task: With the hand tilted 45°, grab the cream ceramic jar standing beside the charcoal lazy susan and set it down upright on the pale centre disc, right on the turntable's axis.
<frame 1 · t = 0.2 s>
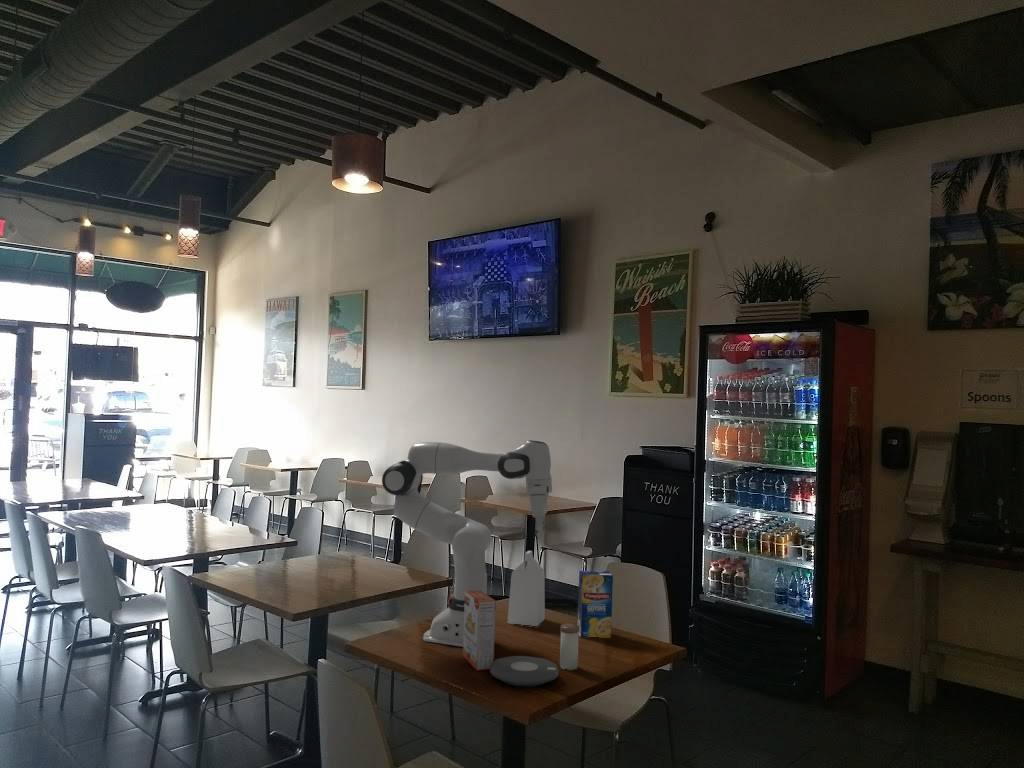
hand: (540, 528, 257), 39 cm above the table, tool pointing down, fingers open, 8 cm apart
lazy susan base: (523, 678, 222), on the table
cracker box: (477, 663, 235), on the table
jar: (568, 667, 234), on the table
milk: (526, 621, 286), on the table
blue cardboard box: (593, 635, 271), on the table
lazy susan: (524, 669, 223), point 3 cm above the table, hinge at 0.0°
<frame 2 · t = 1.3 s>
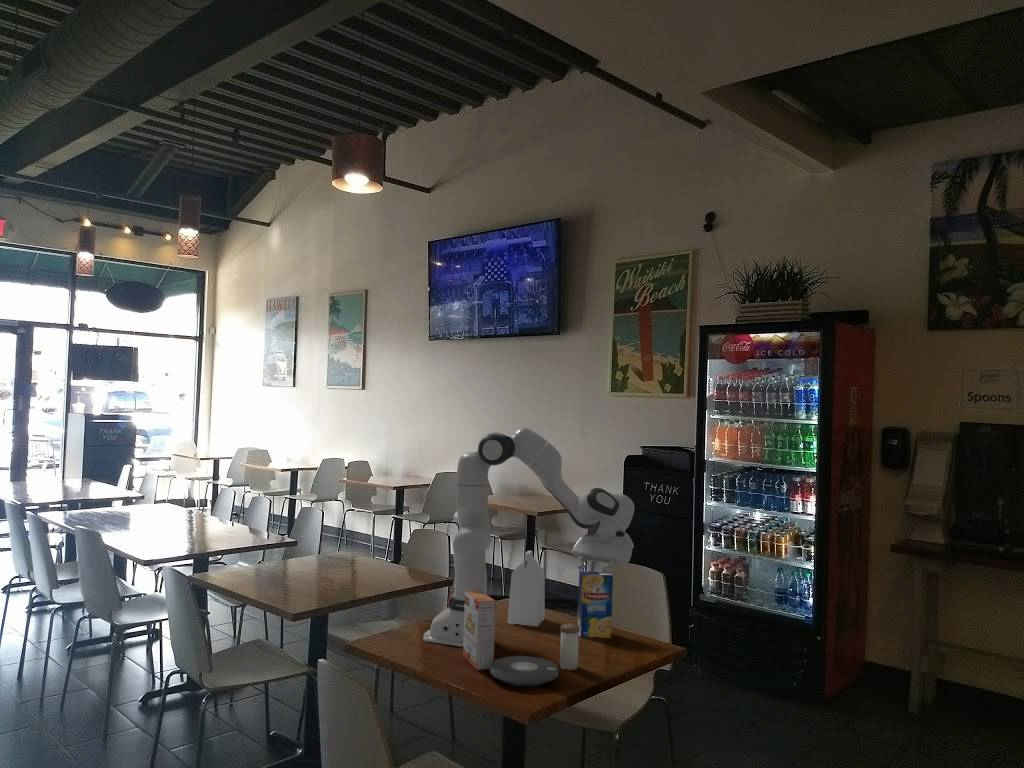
hand: (592, 570, 245), 28 cm above the table, tool tilted 45°, fingers open, 8 cm apart
nothing on the table moved.
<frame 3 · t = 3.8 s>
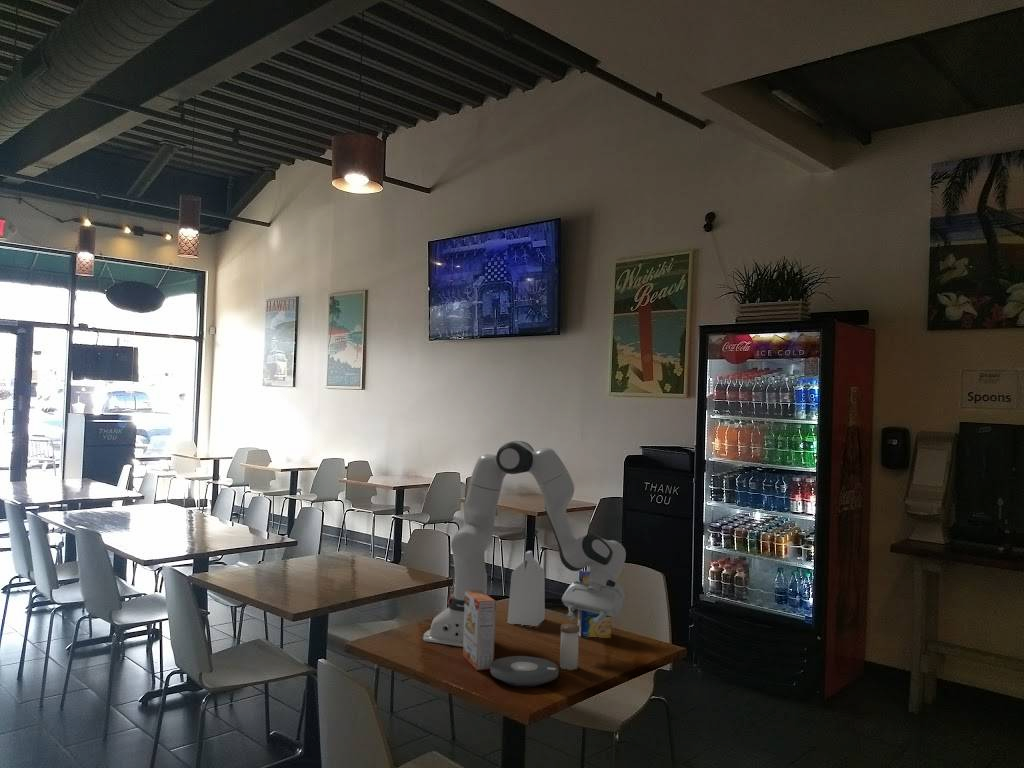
hand: (582, 621, 240), 13 cm above the table, tool tilted 45°, fingers open, 8 cm apart
nothing on the table moved.
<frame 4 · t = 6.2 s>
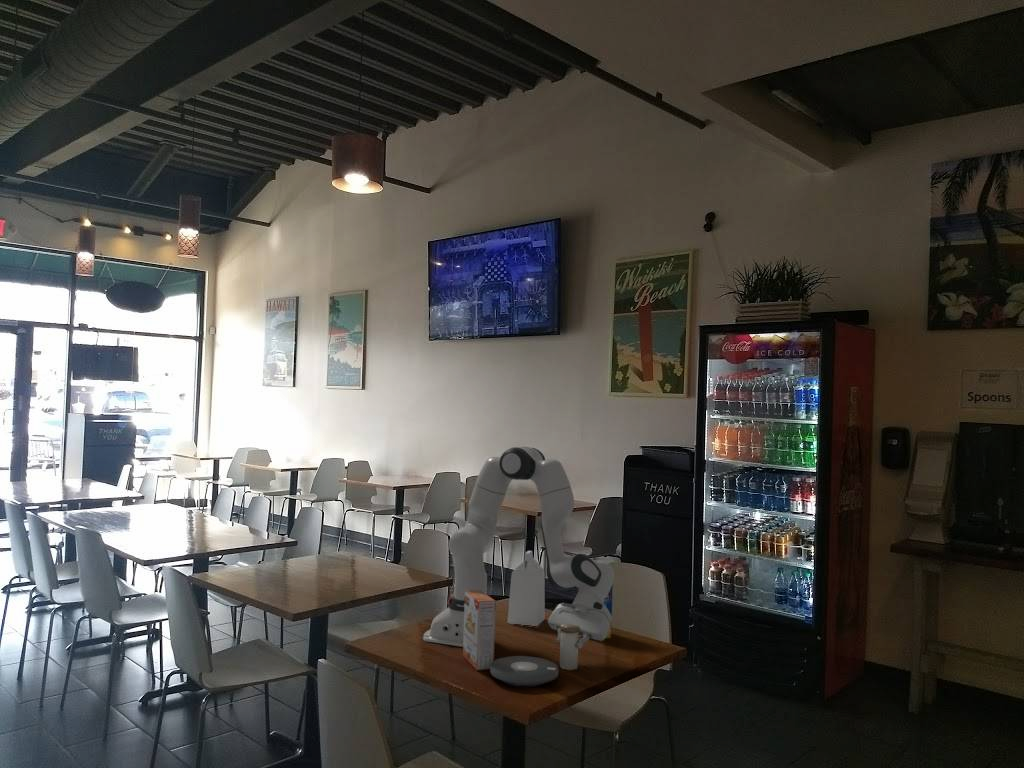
hand: (568, 644, 234), 7 cm above the table, tool tilted 45°, fingers closed on jar, 5 cm apart
jar: (568, 667, 234), on the table, touching gripper
everything else where it was.
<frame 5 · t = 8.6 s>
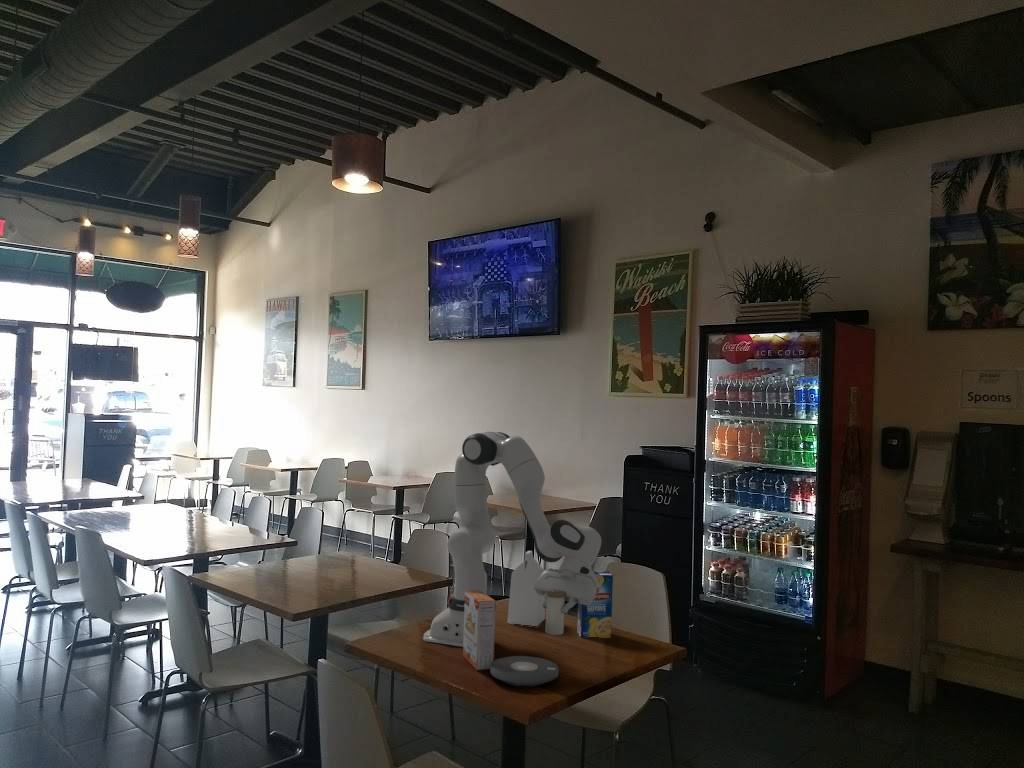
hand: (554, 609, 231), 18 cm above the table, tool tilted 45°, fingers closed on jar, 5 cm apart
jar: (554, 632, 231), point 11 cm above the table, touching gripper
everything else where it was.
when the fingers open (12 cm above the table, at t = 11.4 s): jar drops 1 cm, resting on lazy susan.
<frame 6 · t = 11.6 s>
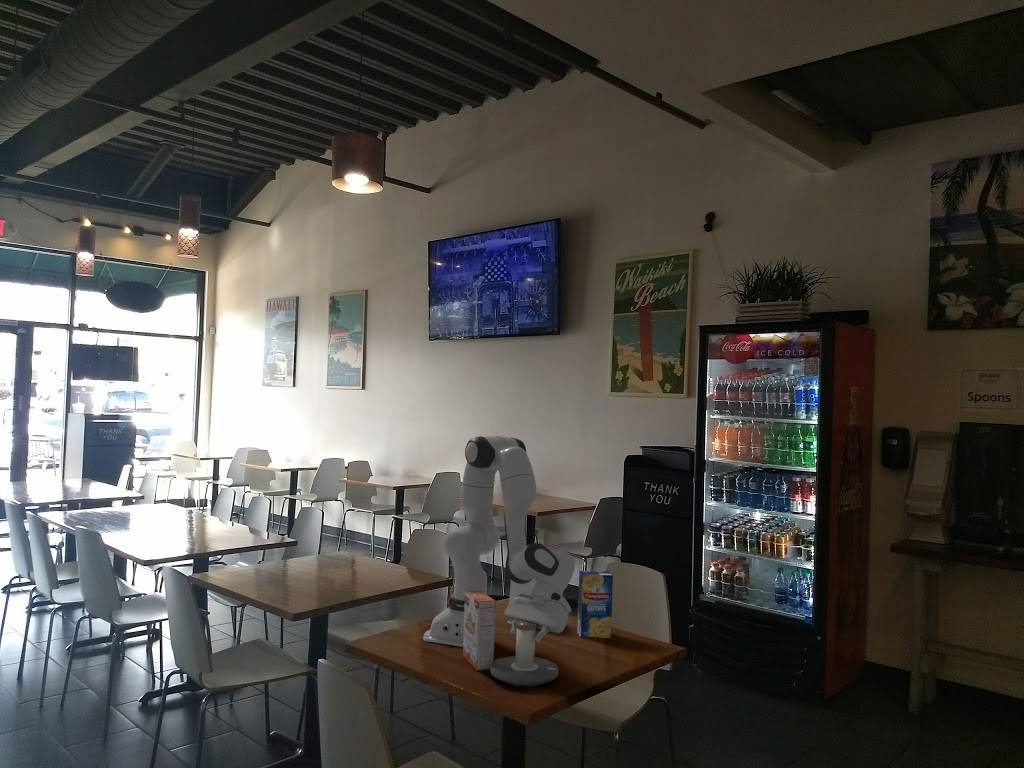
hand: (524, 637, 222), 12 cm above the table, tool tilted 45°, fingers open, 7 cm apart
jar: (524, 665, 223), point 4 cm above the table, touching lazy susan
lazy susan: (524, 669, 223), point 3 cm above the table, hinge at 0.0°, touching jar
everything else where it was.
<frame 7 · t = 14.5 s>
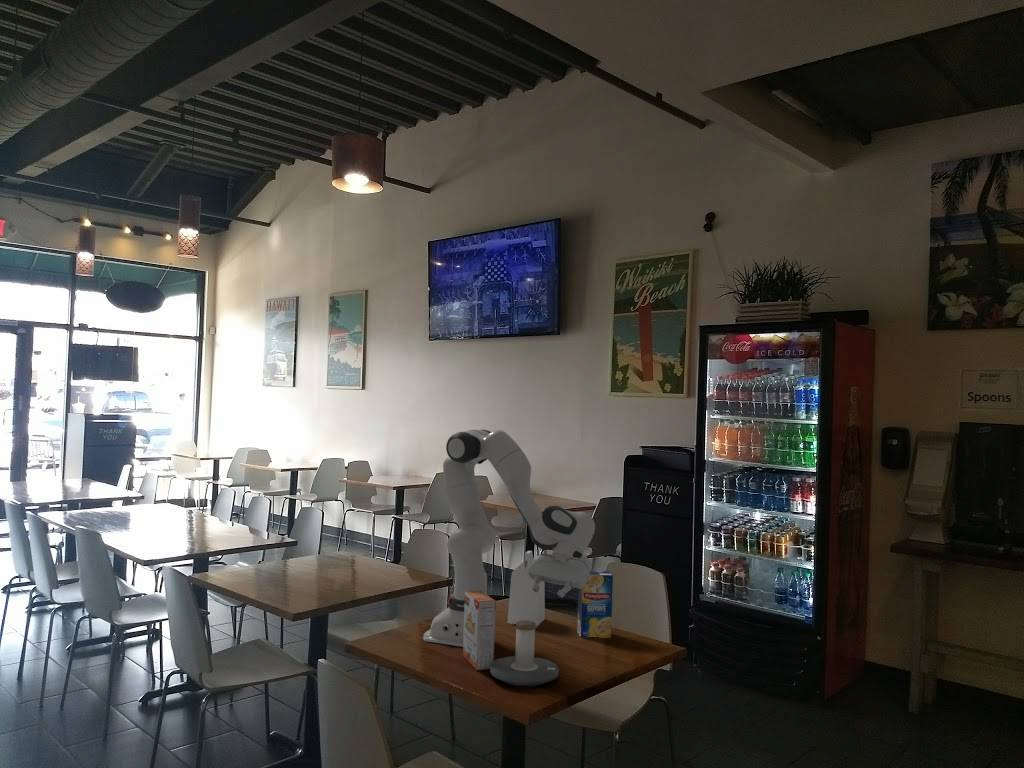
hand: (547, 593, 232), 23 cm above the table, tool tilted 45°, fingers open, 8 cm apart
nothing on the table moved.
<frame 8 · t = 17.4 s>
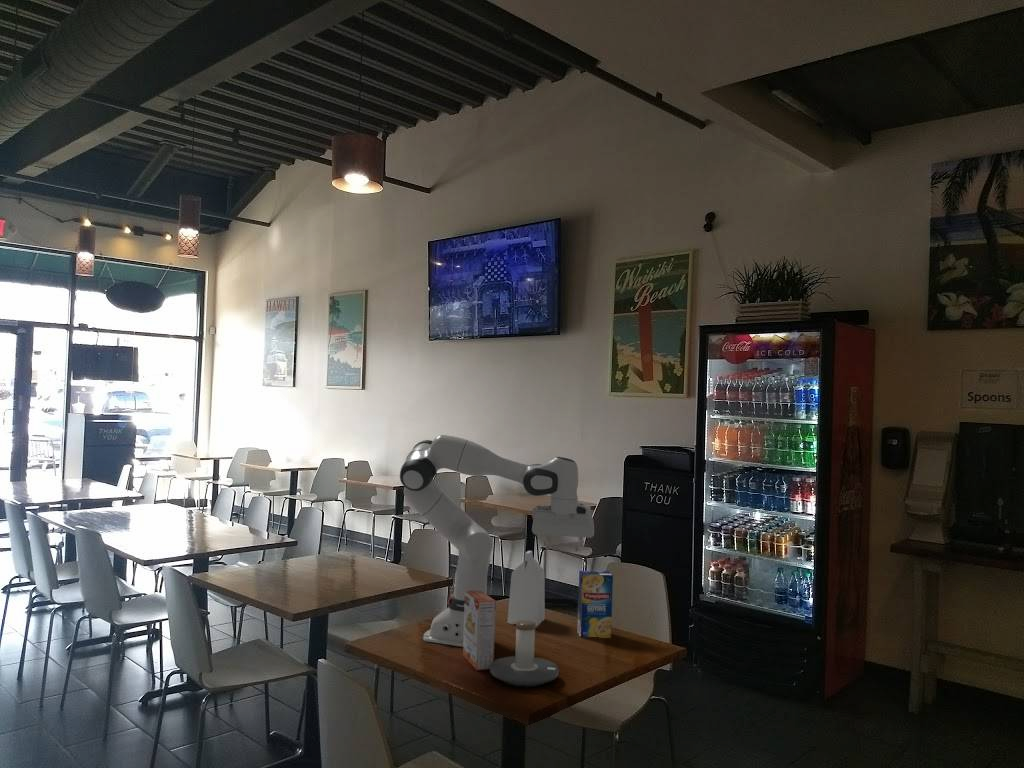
hand: (562, 549, 246), 34 cm above the table, tool pointing down, fingers open, 8 cm apart
nothing on the table moved.
at the end: jar 0.0 cm off-centre on the lazy susan, point 3.6 cm above the lazy susan's base; jar tilted 0°; the gripper is holding nothing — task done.
